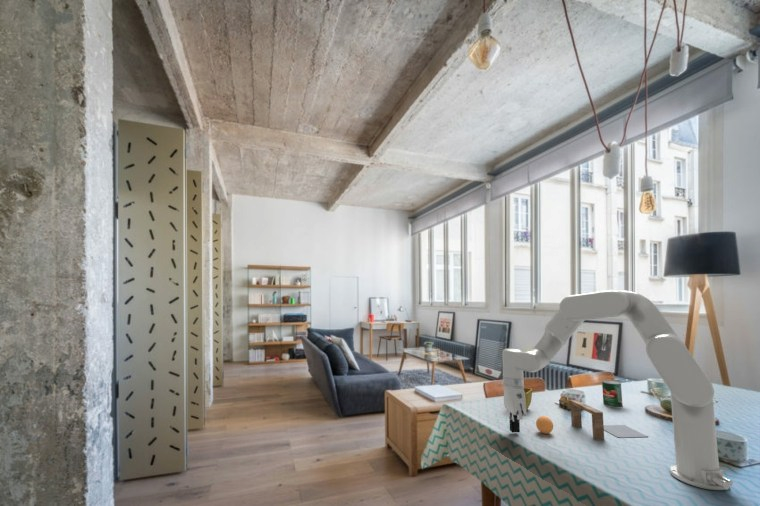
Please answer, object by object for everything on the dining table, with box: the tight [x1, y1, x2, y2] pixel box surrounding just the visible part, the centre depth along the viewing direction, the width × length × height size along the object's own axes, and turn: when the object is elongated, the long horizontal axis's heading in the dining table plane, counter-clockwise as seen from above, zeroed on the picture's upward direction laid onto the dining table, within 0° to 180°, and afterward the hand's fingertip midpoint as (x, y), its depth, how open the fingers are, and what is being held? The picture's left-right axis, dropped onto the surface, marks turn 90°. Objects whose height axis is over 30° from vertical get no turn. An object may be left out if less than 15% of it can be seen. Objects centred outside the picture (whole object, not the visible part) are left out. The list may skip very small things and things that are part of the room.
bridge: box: [570, 400, 605, 441], centre depth 139 cm, size 15×3×10 cm, turn 5°
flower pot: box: [523, 387, 533, 411], centre depth 165 cm, size 9×9×9 cm
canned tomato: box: [601, 379, 623, 408], centre depth 173 cm, size 8×8×11 cm
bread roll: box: [558, 395, 583, 411], centre depth 169 cm, size 10×10×8 cm
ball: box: [535, 415, 554, 435], centre depth 137 cm, size 6×6×6 cm
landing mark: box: [604, 424, 649, 439], centre depth 139 cm, size 12×12×1 cm
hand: (514, 431), depth 136 cm, fingers closed
